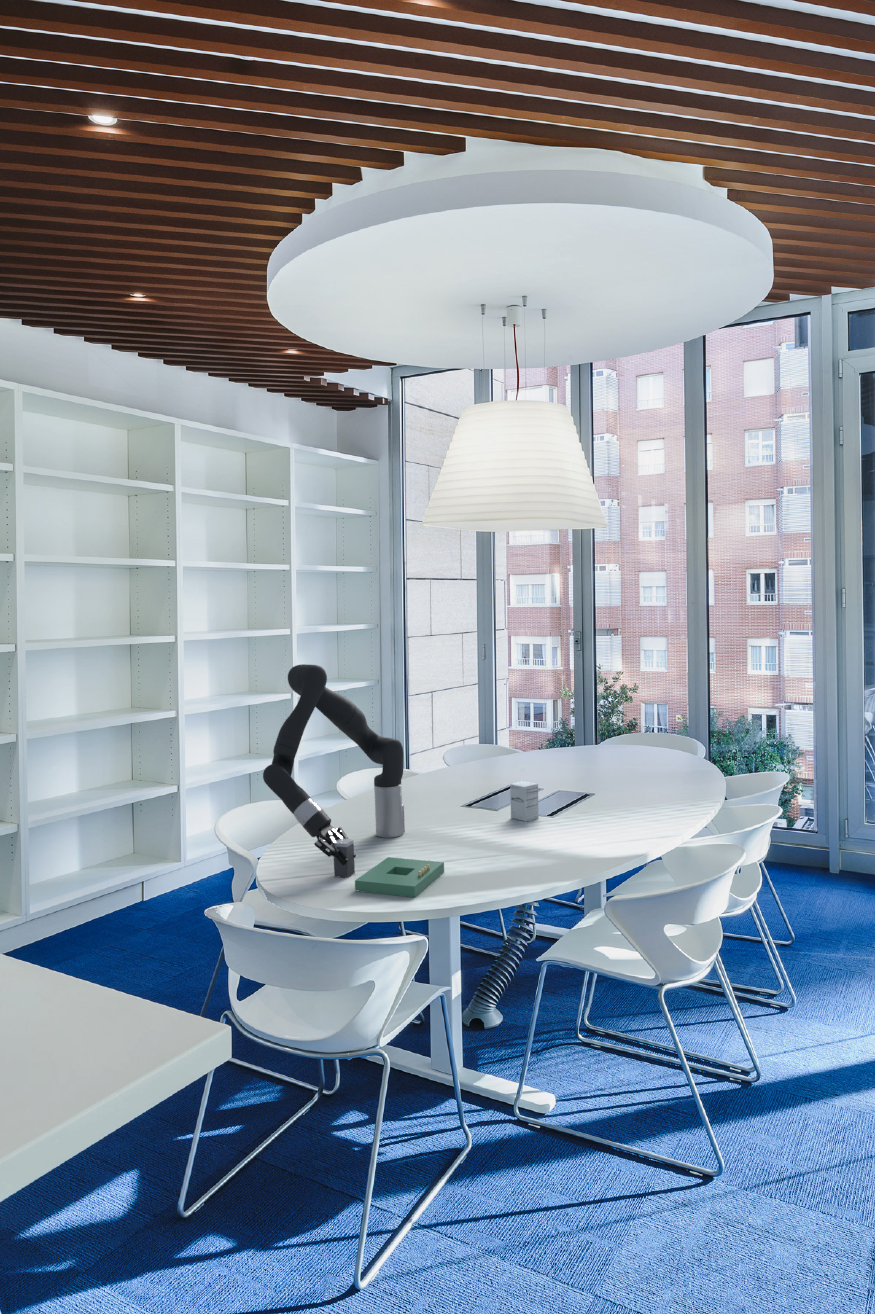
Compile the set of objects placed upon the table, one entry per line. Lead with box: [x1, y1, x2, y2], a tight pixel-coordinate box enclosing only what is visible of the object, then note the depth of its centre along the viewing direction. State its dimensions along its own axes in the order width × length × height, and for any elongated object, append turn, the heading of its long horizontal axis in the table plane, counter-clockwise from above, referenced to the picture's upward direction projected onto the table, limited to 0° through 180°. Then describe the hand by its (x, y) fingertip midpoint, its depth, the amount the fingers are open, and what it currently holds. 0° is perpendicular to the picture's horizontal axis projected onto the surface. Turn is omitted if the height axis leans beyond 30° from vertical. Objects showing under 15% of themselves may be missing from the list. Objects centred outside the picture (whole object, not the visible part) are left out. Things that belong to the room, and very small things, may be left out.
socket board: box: [354, 857, 445, 898], centre depth 250 cm, size 22×18×4 cm
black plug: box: [333, 838, 356, 878], centre depth 257 cm, size 4×4×10 cm
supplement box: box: [509, 780, 540, 822], centre depth 314 cm, size 7×7×13 cm
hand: (349, 860), depth 256 cm, fingers closed on black plug, 4 cm apart
